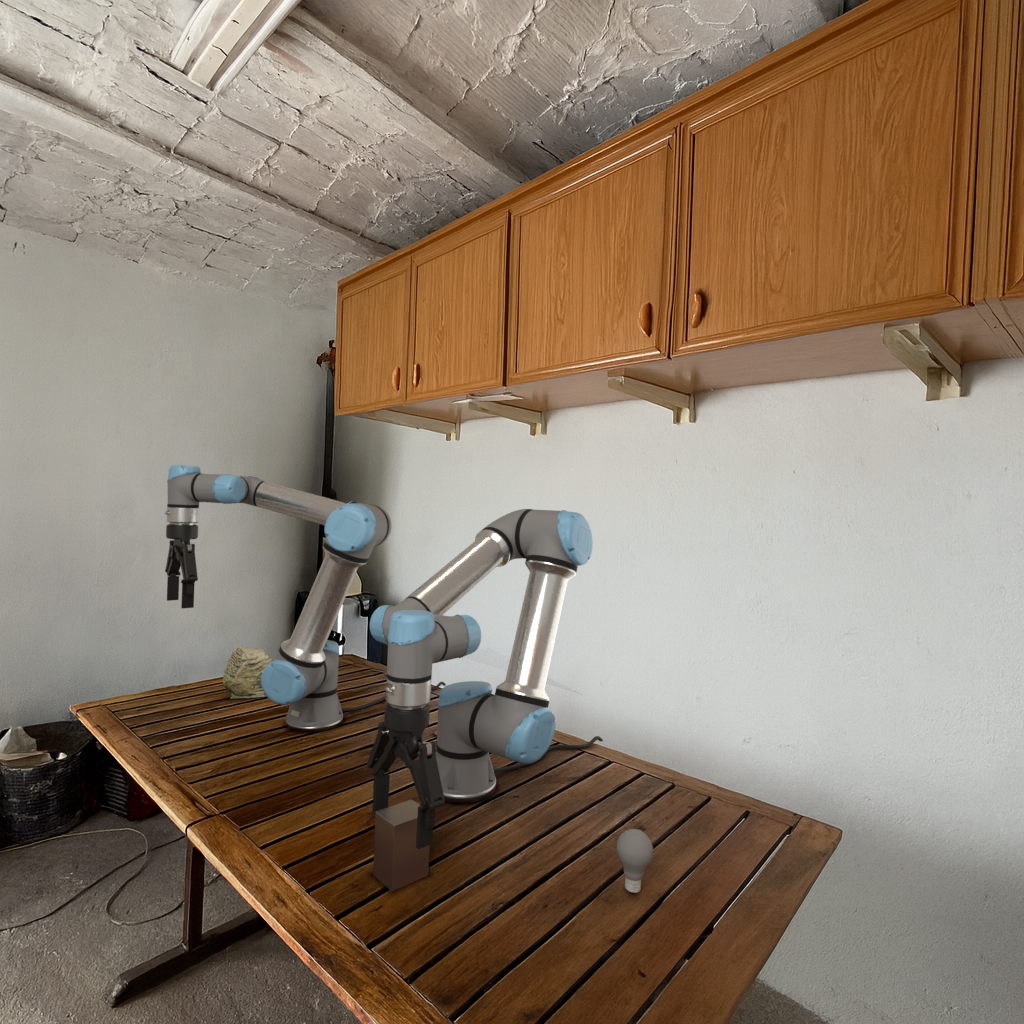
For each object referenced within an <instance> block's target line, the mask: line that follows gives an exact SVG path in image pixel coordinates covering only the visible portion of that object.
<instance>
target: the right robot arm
mask: <svg viewBox="0 0 1024 1024" xmlns="http://www.w3.org/2000/svg"><path fill="white" fill-rule="evenodd" d="M591 529H592V528H591V526H590V524H589V521H588V520H587V518H586V517H585V516H584V515H582V514H581V513H579V512H577V511H567V510H565V509H562V510H551V509H550V510H549V509H533V508H522V509H517V510H513V511H511V512H508V513H507V514H505V515H504V514H503V515H502V516H500V517H498V518H497V519H495V520H494V521H492V522H490V523H489V524H488V525H486V526H485V527H483V528H482V529H481V530H480V531H479V532H477V533H476V535H475V537H474V541H473V542H472V543H470V545H468V546H467V547H466V548H465V549H464V550H462V551H460V553H459V554H457V556H455V557H454V558H452V560H450V561H449V562H448V563H447V564H445V565H444V566H443V567H441V568H440V569H439V570H438V571H436V573H434V574H433V575H432V576H430V578H429V579H427V580H426V581H424V583H422V584H421V585H420V586H419V587H417V588H416V589H415V590H414V591H413V592H411V593H410V594H409V595H408V596H406V597H405V598H404V599H402V600H401V601H400V602H399V603H398V604H396V605H394V604H383V605H380V606H378V607H377V608H376V609H375V610H374V611H373V613H372V614H371V616H370V620H369V631H370V635H371V636H372V639H374V640H375V641H376V642H379V643H381V644H384V645H387V658H386V659H387V663H386V687H385V696H386V700H385V701H386V704H385V705H384V715H383V716H384V717H383V721H380V722H378V727H377V734H376V737H375V740H374V742H373V745H372V748H371V750H370V754H369V756H368V759H367V761H366V767H367V769H370V770H371V775H372V776H373V785H372V791H373V794H372V810H371V811H372V812H371V813H372V815H373V817H374V816H375V813H376V811H378V810H381V809H384V808H387V807H389V798H390V797H389V796H390V781H391V780H390V779H391V778H390V777H391V775H390V774H389V772H391V770H390V768H391V767H392V765H393V763H395V760H396V759H400V760H401V761H402V762H403V763H404V765H405V767H406V769H408V770H409V772H410V775H411V777H412V781H413V784H414V787H415V790H416V793H417V796H418V800H419V802H420V805H421V806H419V807H418V815H417V834H416V848H417V849H421V848H423V847H426V846H428V845H430V846H431V845H433V841H434V840H433V839H434V827H435V824H436V809H438V808H440V807H444V806H445V805H446V802H447V803H452V804H471V803H477V802H481V801H484V800H487V799H488V798H490V797H491V796H492V795H494V794H495V792H496V787H497V778H496V774H497V773H502V772H506V771H513V770H517V769H521V768H523V767H526V766H530V765H532V764H534V763H536V762H538V761H540V760H542V759H543V758H544V757H545V756H546V754H547V753H548V752H550V751H553V750H558V749H567V750H569V749H570V750H580V749H581V750H582V749H587V748H590V747H591V746H592V745H593V744H594V743H595V742H596V741H598V742H604V740H603V738H602V737H601V736H599V735H596V736H594V737H592V739H591V740H590V741H588V742H587V743H584V744H554V745H551V744H552V741H553V739H554V736H555V732H556V725H557V724H556V721H555V720H556V716H555V713H554V712H553V711H552V710H551V709H550V708H549V704H550V702H551V701H550V700H551V699H550V697H549V696H548V694H547V693H546V690H545V689H546V685H547V681H548V676H549V670H550V666H551V661H552V656H553V652H554V647H555V642H556V637H557V633H558V629H559V623H560V620H561V615H562V610H563V605H564V600H565V596H566V592H567V591H566V590H567V588H568V587H567V586H568V582H569V580H571V579H572V578H574V577H576V576H577V572H578V567H579V566H580V567H581V566H583V565H586V564H587V563H588V562H589V560H590V558H591V557H592V552H593V541H594V540H593V534H592V530H591ZM518 559H523V560H525V562H524V564H525V567H526V568H527V570H528V571H529V572H528V573H529V574H528V579H527V585H526V588H525V592H524V595H523V596H524V597H523V602H522V606H521V609H520V614H519V618H518V623H517V626H516V631H515V636H514V641H513V645H512V649H511V654H510V658H509V663H508V666H507V671H506V674H505V679H504V681H503V682H501V683H499V684H498V685H497V686H496V687H495V692H494V694H493V686H492V684H491V683H490V682H487V681H482V680H467V681H460V682H453V683H450V684H446V686H443V687H442V688H441V690H440V691H439V695H438V704H437V726H436V727H437V728H436V730H437V735H436V742H435V741H434V740H432V741H428V742H427V741H425V739H424V732H425V730H426V729H427V728H428V727H429V725H430V715H431V713H430V712H431V711H430V710H431V706H430V704H429V703H430V702H431V700H432V699H431V698H432V690H431V688H432V677H433V675H432V674H433V665H434V664H437V663H441V662H447V661H451V660H454V659H461V658H464V657H466V656H469V655H471V654H473V653H475V652H476V651H477V650H478V649H479V647H480V645H481V642H482V630H481V626H480V624H479V622H477V620H476V619H475V618H474V617H473V616H471V615H469V614H454V615H445V614H446V613H447V612H448V611H449V610H450V609H451V608H453V606H455V605H456V604H457V603H458V602H459V601H460V600H461V599H462V598H463V597H465V596H466V595H467V594H468V593H469V592H471V590H472V589H474V588H475V587H476V586H477V585H478V584H479V583H480V582H481V581H482V580H484V578H486V577H487V576H488V575H489V574H491V572H492V571H494V570H495V569H496V568H501V567H504V566H506V565H507V564H508V563H510V562H511V561H513V560H518ZM490 754H492V755H496V756H498V757H501V758H504V759H507V760H508V761H510V762H516V764H513V765H507V766H501V767H496V768H494V767H493V764H492V759H491V756H490ZM417 758H418V759H417Z"/></svg>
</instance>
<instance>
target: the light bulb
mask: <svg viewBox="0 0 1024 1024" xmlns="http://www.w3.org/2000/svg"><path fill="white" fill-rule="evenodd" d="M615 849H616V854H617V857H618V859H619V861H620V863H621V865H622V867H623V873H624V874H623V875H624V876H625V878H624V888H625V890H627V891H628V892H630V893H634V894H635V893H639V892H640V891H641V889H642V887H641V886H642V879H643V877H644V875H645V871H646V868H647V867H648V866H649V864H650V863H651V861H652V859H653V855H654V847H653V843H652V841H651V838H649V836H648V835H647V834H646V833H645V832H643V831H642V830H641V829H636V828H629V829H627V830H625V831H623V832H622V833H621V834H620V835H619V837H618V839H617V841H616V847H615Z"/></svg>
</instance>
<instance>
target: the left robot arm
mask: <svg viewBox="0 0 1024 1024" xmlns="http://www.w3.org/2000/svg"><path fill="white" fill-rule="evenodd" d="M167 474H168V475H167V480H166V483H167V506H166V510H165V511H164V514H165V515H166V522H167V523H168V524H166V525H165V526H166V528H165V537H166V539H168V540H169V547H168V551H167V552H168V553H167V558H166V565H165V569H164V572H165V573H166V576H167V583H166V584H167V585H166V587H167V588H166V601H167V602H168V601H169V602H170V601H179V597H180V596H179V595H180V594H179V593H180V584H181V609H183V610H184V609H194V607H195V583H196V582H197V581H199V576H198V569H197V559H196V544H195V543H191V540H196V539H198V538H199V525H198V523H200V503H211V504H223V505H231V504H246V505H249V506H253V507H255V508H256V507H257V508H261V509H265V510H268V511H271V512H275V513H279V514H283V515H285V516H290V517H293V518H297V519H300V520H303V521H307V522H310V523H315V524H318V525H321V526H324V530H323V531H324V535H325V541H324V542H323V544H322V549H323V551H324V553H325V556H324V558H323V560H322V563H321V565H320V568H319V570H318V572H317V575H316V577H315V579H314V582H313V584H312V586H311V589H310V591H309V595H308V596H307V599H306V601H305V603H304V606H303V608H302V610H301V613H300V615H299V617H298V619H297V622H296V625H295V627H294V629H293V632H292V634H291V636H290V638H289V639H286V640H283V642H282V643H281V644H280V646H279V648H278V651H277V653H276V656H275V658H274V660H273V661H272V662H270V663H269V664H268V665H267V666H266V667H265V668H264V670H263V672H262V675H261V686H262V688H263V690H264V693H265V695H266V696H265V697H267V698H268V700H270V701H271V702H273V703H274V704H277V705H281V706H289V708H288V711H287V713H286V715H285V726H286V728H287V729H289V730H291V731H294V732H295V731H296V732H301V733H316V732H325V731H329V730H332V729H335V728H337V727H339V726H340V725H342V723H343V722H344V714H343V712H352V711H353V712H354V711H359V710H362V709H366V708H369V707H372V706H374V705H377V704H379V703H381V702H383V701H386V695H385V696H383V697H381V698H379V699H376V700H374V701H371V702H368V703H365V704H362V705H358V706H352V707H351V706H350V707H343V708H342V706H341V702H340V699H339V695H338V682H339V662H340V661H339V660H340V645H339V643H338V642H337V641H335V640H330V639H329V636H330V634H331V631H332V629H333V627H334V624H335V622H336V620H337V618H338V616H339V613H340V611H341V608H342V606H343V604H344V602H345V599H346V597H347V594H348V592H349V589H350V587H351V586H352V583H353V580H354V578H355V575H356V573H357V572H358V569H359V567H362V566H364V565H366V564H367V563H368V561H369V559H370V556H371V554H372V552H373V549H374V548H376V547H379V546H381V545H382V544H384V542H386V541H387V539H388V538H389V537H390V534H391V532H392V519H391V517H390V515H389V513H388V512H387V510H386V509H384V508H383V507H381V506H380V505H378V504H374V503H362V502H357V501H354V500H351V501H349V502H344V501H340V500H336V499H334V498H333V499H332V498H329V497H325V496H321V495H318V494H314V493H310V492H307V491H303V490H299V489H296V488H292V487H288V486H284V485H281V484H277V483H273V482H270V481H265V480H263V479H261V478H259V477H257V476H251V475H248V476H246V475H244V476H243V475H236V474H230V473H229V474H228V473H223V474H221V473H220V474H219V473H202V472H201V468H200V467H199V466H198V465H187V464H184V465H183V464H172V465H170V466H169V468H168V473H167ZM180 569H181V571H180ZM181 574H182V579H181V580H180V576H181ZM441 686H443V687H445V686H447V684H446V683H445V682H444V681H440V682H438V683H437V684H436V685H435V686H431V691H434V690H437V689H439V688H440V687H441Z"/></svg>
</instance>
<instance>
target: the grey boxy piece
mask: <svg viewBox="0 0 1024 1024" xmlns="http://www.w3.org/2000/svg"><path fill="white" fill-rule="evenodd" d="M419 806H421V804H419V803H418V802H416V801H415V800H413V798H412V799H408V800H406V801H403V802H400V803H396V804H393V805H390V806H388V807H387V808H384V809H381V810H378V811H376V813H375V817H374V841H373V865H372V866H373V867H372V876H373V877H375V878H376V880H378V881H379V882H380V883H381V884H383V885H384V886H385V887H386V888H387V889H388V890H389V891H390V892H395V891H396V890H399V889H401V888H404V887H406V886H408V885H410V884H412V883H415V882H417V881H419V880H421V879H423V878H427V877H428V876H429V873H430V872H429V870H430V869H429V866H430V846H431V845H428V846H426V847H423V848H421V849H417V848H416V834H417V815H418V807H419Z"/></svg>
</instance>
